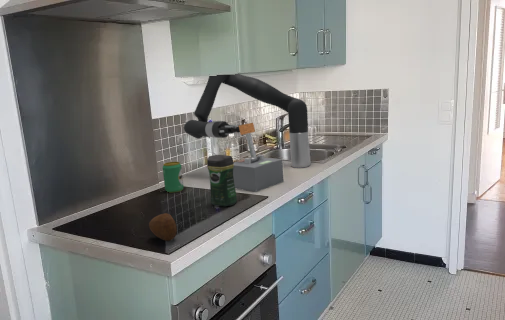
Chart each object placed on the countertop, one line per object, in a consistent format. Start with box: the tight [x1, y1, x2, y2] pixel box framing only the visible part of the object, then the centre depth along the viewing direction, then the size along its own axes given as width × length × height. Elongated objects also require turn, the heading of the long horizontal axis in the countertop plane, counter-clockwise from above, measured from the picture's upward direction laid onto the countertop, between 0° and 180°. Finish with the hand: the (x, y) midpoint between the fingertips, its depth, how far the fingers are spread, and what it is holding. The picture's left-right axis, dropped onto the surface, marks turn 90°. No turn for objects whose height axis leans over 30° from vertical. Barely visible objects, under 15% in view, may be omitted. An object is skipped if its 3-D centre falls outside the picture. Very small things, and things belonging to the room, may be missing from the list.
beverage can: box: [162, 161, 184, 194], centre depth 182 cm, size 8×8×12 cm
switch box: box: [233, 154, 285, 193], centre depth 182 cm, size 18×16×12 cm
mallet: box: [239, 122, 260, 163], centre depth 180 cm, size 6×3×16 cm, turn 138°
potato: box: [148, 212, 178, 242], centre depth 126 cm, size 7×10×8 cm
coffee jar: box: [206, 154, 238, 207], centre depth 156 cm, size 10×8×19 cm
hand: (244, 129), depth 181 cm, fingers closed
